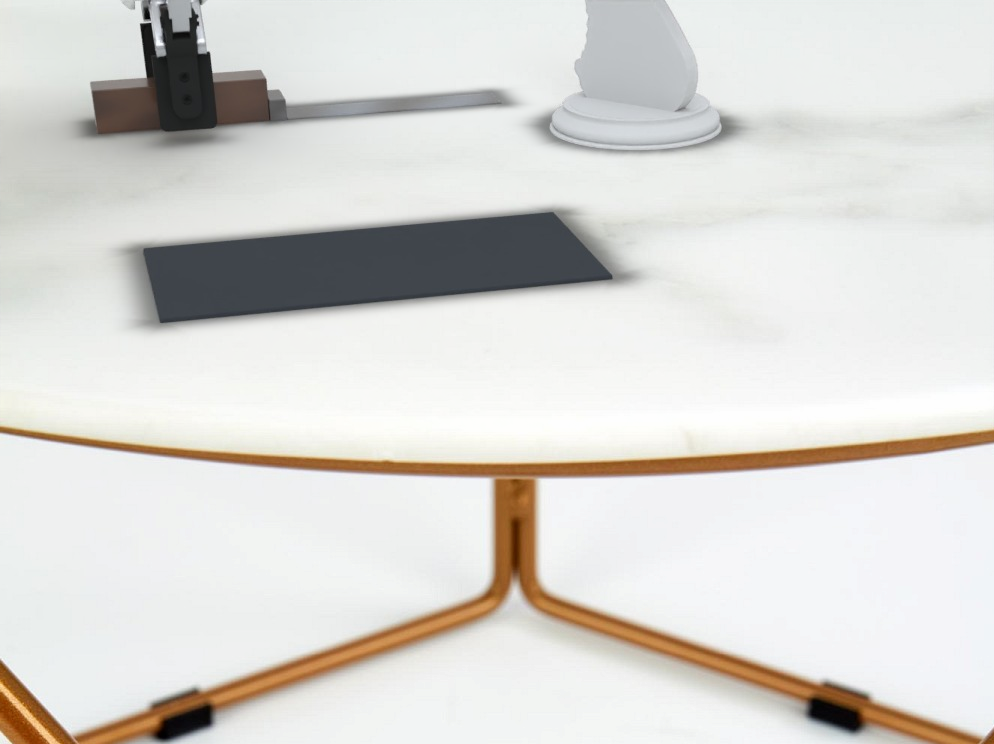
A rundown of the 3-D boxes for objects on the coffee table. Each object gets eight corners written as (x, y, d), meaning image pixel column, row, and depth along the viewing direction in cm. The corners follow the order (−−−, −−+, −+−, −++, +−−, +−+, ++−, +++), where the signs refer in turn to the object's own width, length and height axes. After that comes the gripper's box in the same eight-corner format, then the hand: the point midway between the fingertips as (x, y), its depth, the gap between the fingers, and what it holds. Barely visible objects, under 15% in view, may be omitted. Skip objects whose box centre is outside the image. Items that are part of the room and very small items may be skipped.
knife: (98, 141, 99) (91, 91, 97) (96, 130, 101) (89, 80, 100) (501, 110, 104) (501, 62, 102) (491, 100, 106) (490, 52, 104)
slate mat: (161, 332, 73) (159, 318, 72) (144, 260, 81) (143, 247, 80) (612, 288, 77) (612, 275, 76) (553, 223, 85) (553, 211, 84)
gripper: (64, -241, 97) (108, 81, 107) (77, -215, 83) (126, 153, 93) (197, -246, 98) (229, 73, 108) (232, -221, 84) (265, 142, 94)
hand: (181, 108), depth 100 cm, fingers open, 8 cm apart
